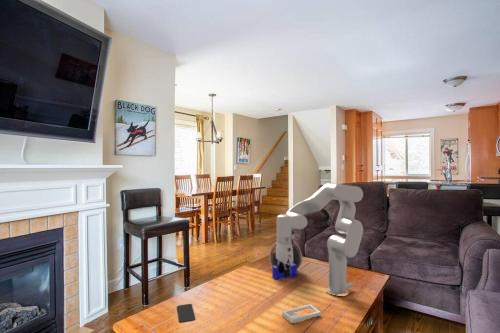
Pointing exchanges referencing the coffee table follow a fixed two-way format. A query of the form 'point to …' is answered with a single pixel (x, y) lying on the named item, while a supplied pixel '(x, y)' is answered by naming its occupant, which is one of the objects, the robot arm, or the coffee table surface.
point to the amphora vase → (296, 254)
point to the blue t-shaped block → (277, 275)
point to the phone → (185, 313)
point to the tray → (296, 317)
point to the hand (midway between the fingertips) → (283, 274)
